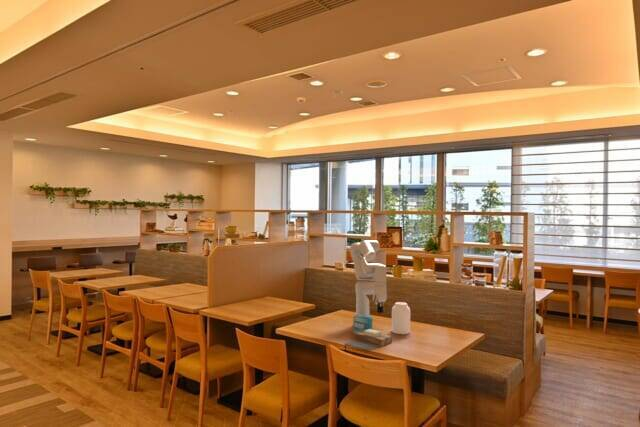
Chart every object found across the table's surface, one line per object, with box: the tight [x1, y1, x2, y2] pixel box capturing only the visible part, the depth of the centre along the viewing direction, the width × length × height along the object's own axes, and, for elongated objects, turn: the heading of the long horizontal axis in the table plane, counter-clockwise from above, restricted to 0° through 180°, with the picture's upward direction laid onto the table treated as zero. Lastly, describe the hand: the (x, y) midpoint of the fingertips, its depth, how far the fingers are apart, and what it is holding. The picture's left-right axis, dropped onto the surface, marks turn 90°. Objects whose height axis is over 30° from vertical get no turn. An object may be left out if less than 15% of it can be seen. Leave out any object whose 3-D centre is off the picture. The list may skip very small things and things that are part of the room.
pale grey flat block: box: [364, 328, 382, 337], centre depth 275 cm, size 6×9×2 cm, turn 49°
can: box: [390, 301, 411, 335], centre depth 297 cm, size 12×12×20 cm
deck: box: [354, 330, 393, 347], centre depth 275 cm, size 12×20×4 cm, turn 49°
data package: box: [352, 314, 373, 334], centre depth 291 cm, size 12×4×12 cm, turn 60°
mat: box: [344, 339, 381, 351], centre depth 266 cm, size 12×18×1 cm, turn 49°
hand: (380, 312), depth 280 cm, fingers closed
